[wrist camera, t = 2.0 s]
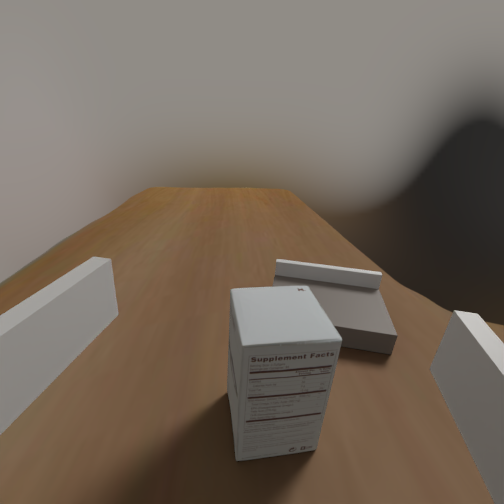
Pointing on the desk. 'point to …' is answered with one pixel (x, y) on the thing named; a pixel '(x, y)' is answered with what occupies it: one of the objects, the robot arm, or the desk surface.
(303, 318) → the supplement box
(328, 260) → the desk surface
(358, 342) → the shelf board
